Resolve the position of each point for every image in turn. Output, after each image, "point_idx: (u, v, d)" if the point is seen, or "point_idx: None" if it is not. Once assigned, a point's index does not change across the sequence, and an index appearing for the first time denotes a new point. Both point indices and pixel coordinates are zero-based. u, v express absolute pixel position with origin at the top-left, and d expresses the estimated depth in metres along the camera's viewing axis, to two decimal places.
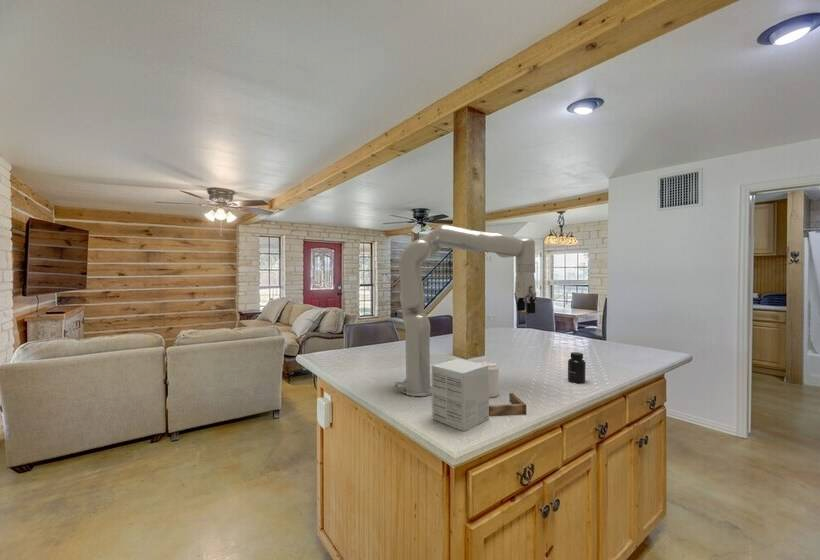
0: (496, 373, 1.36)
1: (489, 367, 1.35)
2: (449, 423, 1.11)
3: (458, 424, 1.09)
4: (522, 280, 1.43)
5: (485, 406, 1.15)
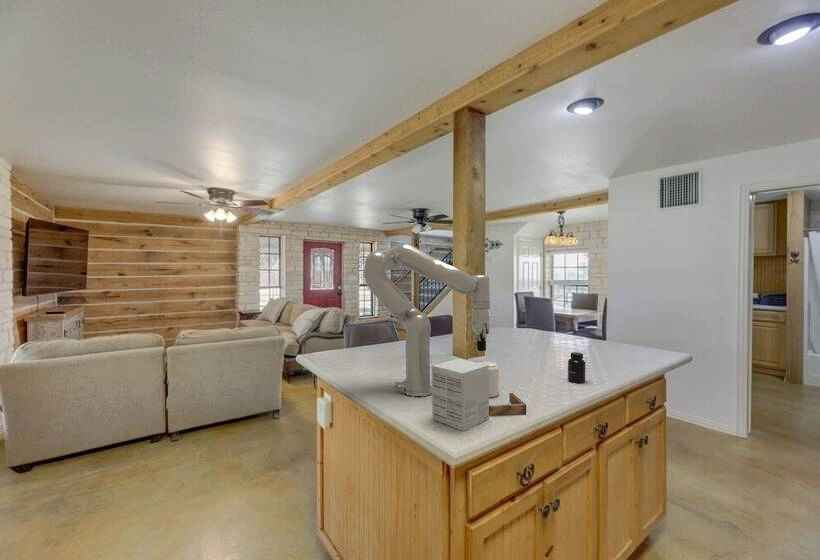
0: (496, 373, 1.36)
1: (489, 367, 1.35)
2: (449, 423, 1.11)
3: (458, 424, 1.09)
4: (476, 317, 1.44)
5: (485, 406, 1.15)
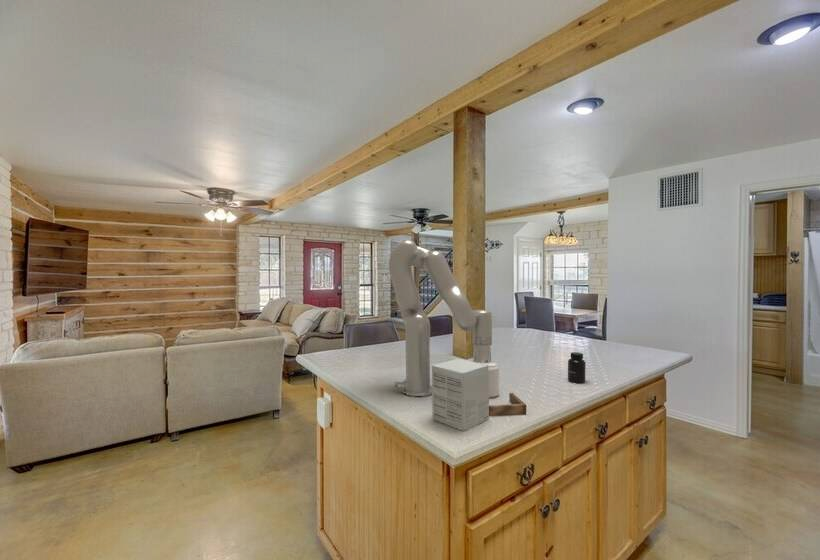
0: (496, 373, 1.36)
1: (489, 367, 1.35)
2: (449, 423, 1.11)
3: (458, 424, 1.09)
4: (478, 353, 1.42)
5: (485, 406, 1.15)
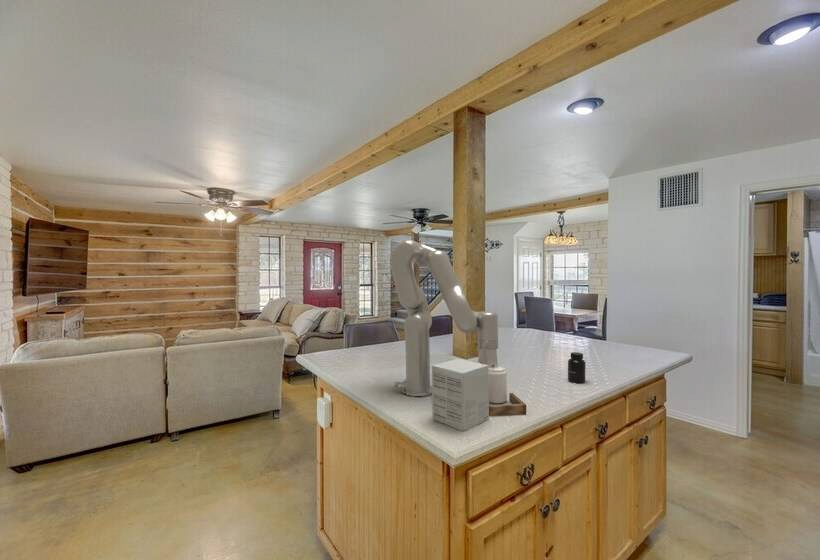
0: (506, 377, 1.31)
1: (500, 371, 1.29)
2: (449, 423, 1.11)
3: (458, 424, 1.09)
4: (484, 357, 1.35)
5: (485, 406, 1.15)
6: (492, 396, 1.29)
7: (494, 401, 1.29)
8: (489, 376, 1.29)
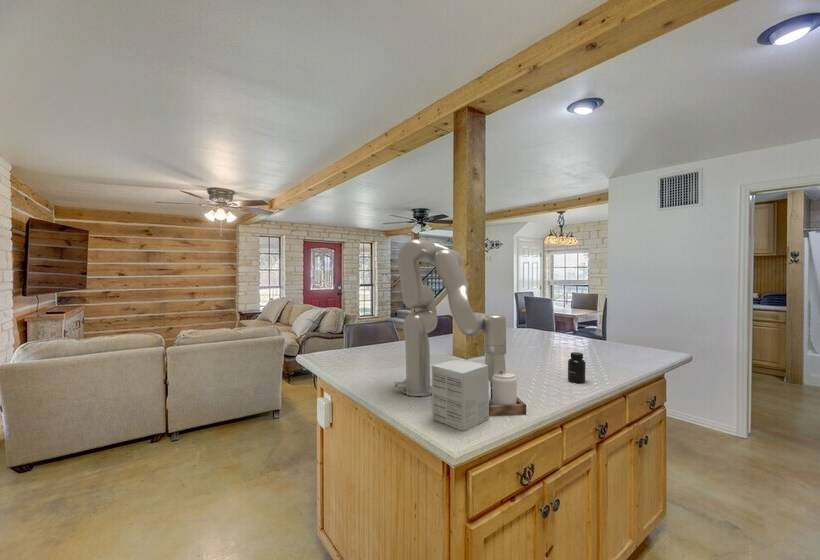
0: (516, 384, 1.23)
1: (511, 378, 1.21)
2: (449, 423, 1.11)
3: (458, 424, 1.09)
4: (491, 363, 1.26)
5: (485, 406, 1.15)
6: None
7: None
8: (500, 383, 1.21)
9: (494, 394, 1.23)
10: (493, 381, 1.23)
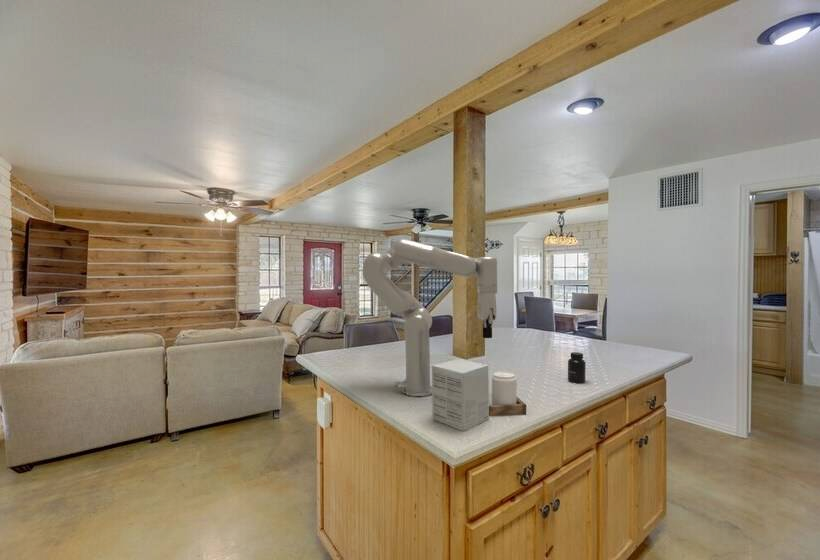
0: None
1: (511, 378, 1.21)
2: (449, 423, 1.11)
3: (458, 424, 1.09)
4: (482, 301, 1.34)
5: (485, 406, 1.15)
6: None
7: None
8: (500, 383, 1.21)
9: (494, 394, 1.23)
10: (493, 381, 1.23)
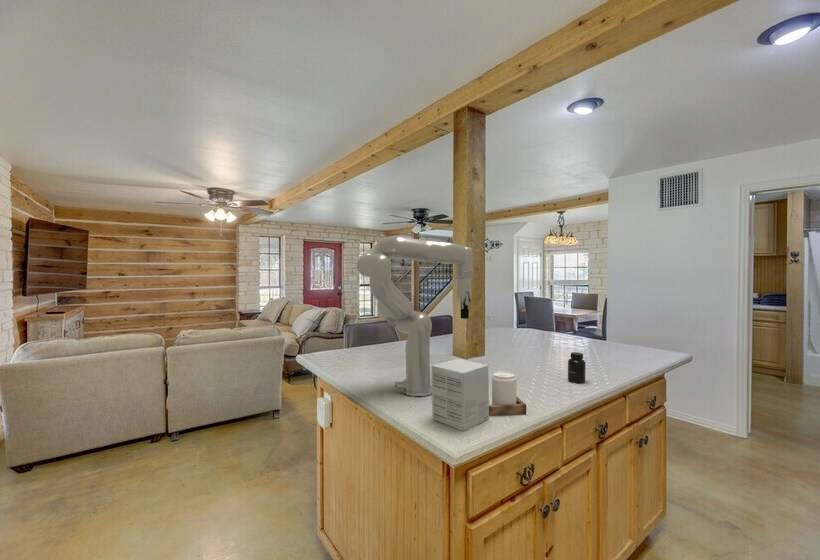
0: None
1: (511, 378, 1.21)
2: (449, 423, 1.11)
3: (458, 424, 1.09)
4: (460, 286, 1.53)
5: (485, 406, 1.15)
6: None
7: None
8: (500, 383, 1.21)
9: (494, 394, 1.23)
10: (493, 381, 1.23)
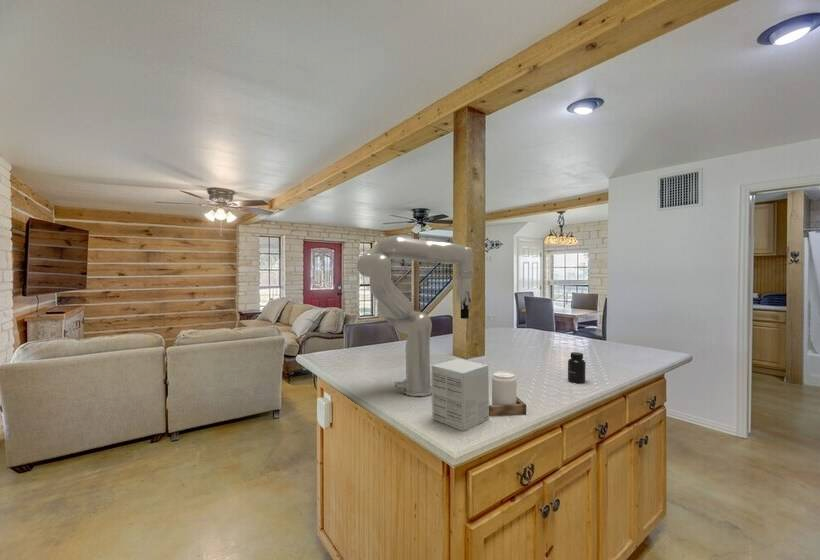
0: None
1: (511, 378, 1.21)
2: (449, 423, 1.11)
3: (458, 424, 1.09)
4: (460, 286, 1.53)
5: (485, 406, 1.15)
6: None
7: None
8: (500, 383, 1.21)
9: (494, 394, 1.23)
10: (493, 381, 1.23)
